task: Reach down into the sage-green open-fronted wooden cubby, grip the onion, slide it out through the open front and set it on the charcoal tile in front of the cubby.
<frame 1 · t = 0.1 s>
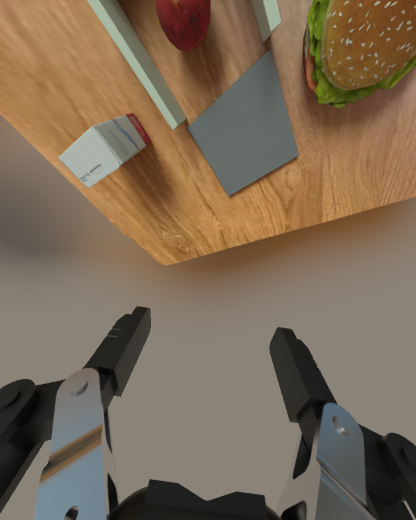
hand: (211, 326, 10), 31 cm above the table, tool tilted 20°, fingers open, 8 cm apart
food: (363, 18, 19), on the table
tile: (243, 140, 28), on the table
cubby: (184, 4, 19), on the table
onion: (190, 17, 20), on the table
ink box: (127, 140, 30), on the table
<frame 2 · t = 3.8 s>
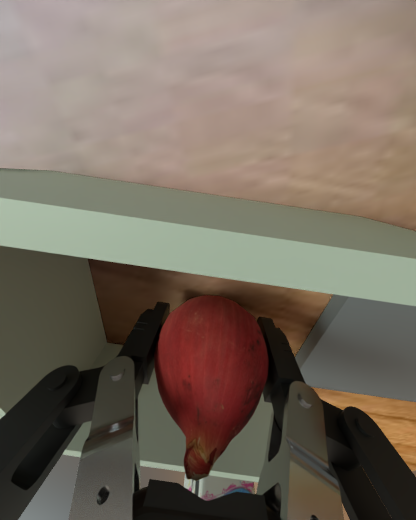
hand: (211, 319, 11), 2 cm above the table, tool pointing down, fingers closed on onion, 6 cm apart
tile: (410, 332, 12), on the table
cubby: (199, 301, 12), on the table
onion: (213, 301, 12), on the table, touching gripper
ink box: (216, 413, 21), on the table
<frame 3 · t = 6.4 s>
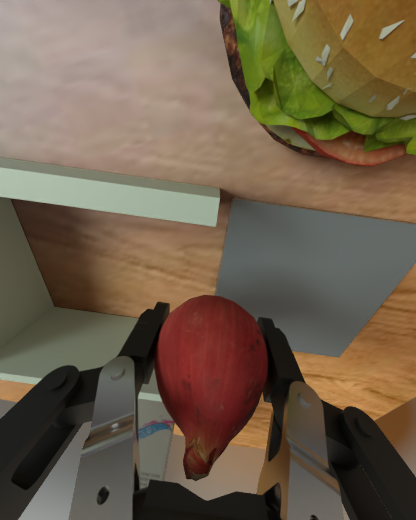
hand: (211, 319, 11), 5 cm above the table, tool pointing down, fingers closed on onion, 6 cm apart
tile: (293, 289, 15), on the table
cubby: (119, 265, 15), on the table
onion: (213, 301, 12), point 3 cm above the table, touching gripper
ink box: (163, 377, 23), on the table
when the fingers open (3 cm above the table, at t = 9.1 s): onion stays where it is, resting on tile.
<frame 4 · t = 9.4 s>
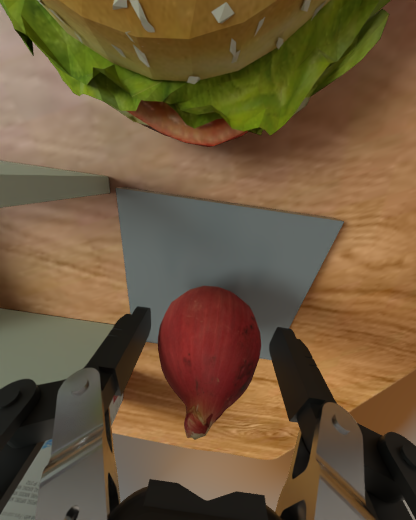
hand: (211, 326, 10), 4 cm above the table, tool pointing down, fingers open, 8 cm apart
tile: (213, 287, 14), on the table
cubby: (28, 260, 14), on the table
onion: (212, 292, 13), point 1 cm above the table, touching tile
ink box: (108, 379, 22), on the table
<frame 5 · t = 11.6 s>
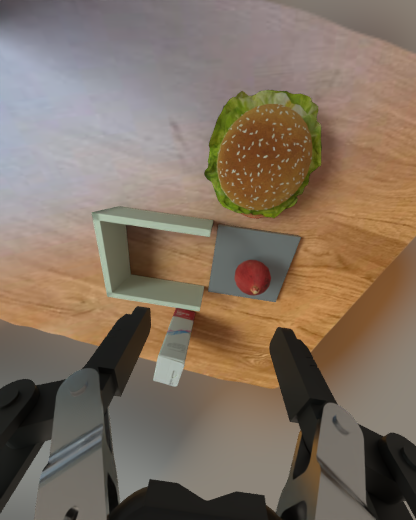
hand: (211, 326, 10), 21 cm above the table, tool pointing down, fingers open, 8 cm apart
food: (255, 164, 24), on the table
tile: (248, 264, 31), on the table
cubby: (167, 252, 32), on the table
onion: (249, 266, 31), point 1 cm above the table, touching tile
ink box: (182, 321, 40), on the table
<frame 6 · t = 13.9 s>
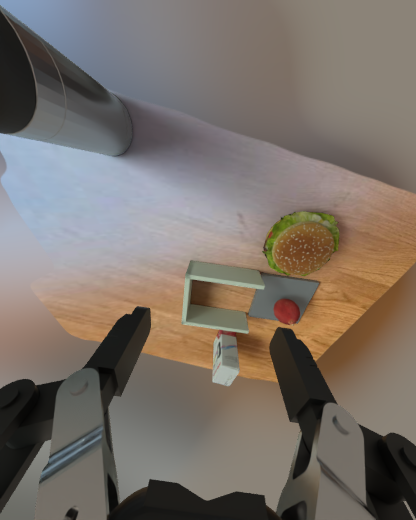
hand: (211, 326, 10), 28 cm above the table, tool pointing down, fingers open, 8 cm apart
food: (291, 238, 36), on the table
tile: (280, 298, 43), on the table
cubby: (221, 289, 43), on the table
onion: (280, 300, 43), point 1 cm above the table, touching tile
ink box: (224, 335, 52), on the table
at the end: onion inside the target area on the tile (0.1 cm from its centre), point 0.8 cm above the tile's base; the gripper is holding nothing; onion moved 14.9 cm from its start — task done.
